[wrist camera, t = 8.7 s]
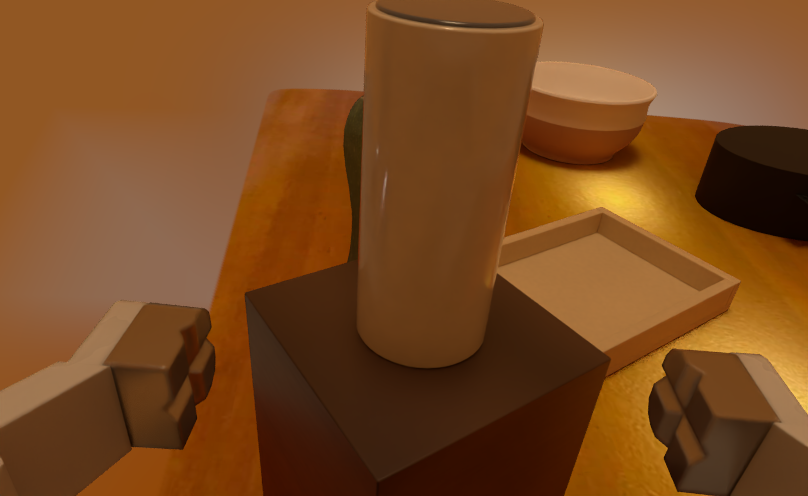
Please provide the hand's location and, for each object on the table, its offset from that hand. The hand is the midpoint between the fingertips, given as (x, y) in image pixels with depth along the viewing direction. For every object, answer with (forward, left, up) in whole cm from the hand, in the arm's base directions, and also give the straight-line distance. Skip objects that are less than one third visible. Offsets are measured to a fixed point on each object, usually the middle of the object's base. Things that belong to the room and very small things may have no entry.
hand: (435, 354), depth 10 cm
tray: (+27, +14, -17) cm, 35 cm away
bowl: (+49, +36, -18) cm, 63 cm away
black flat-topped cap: (+57, +14, -18) cm, 61 cm away
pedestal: (+5, +6, -17) cm, 19 cm away
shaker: (+5, +6, -5) cm, 9 cm away
